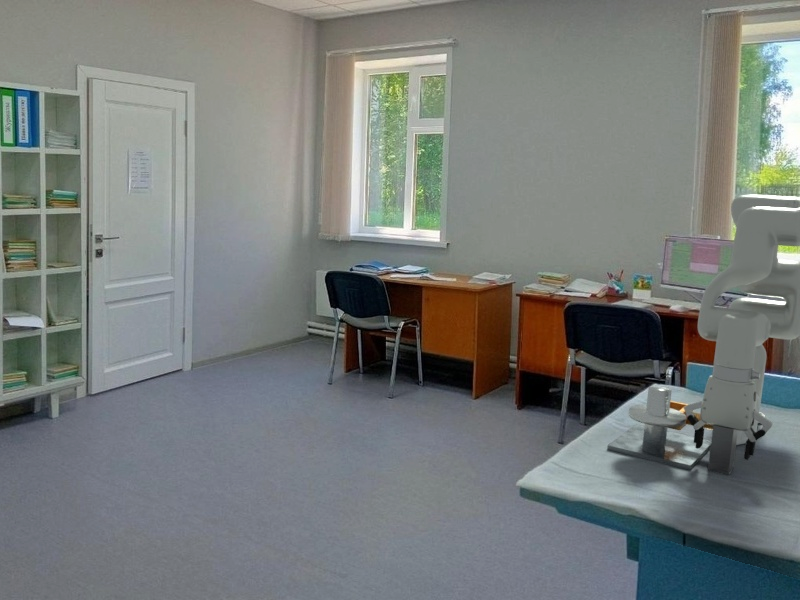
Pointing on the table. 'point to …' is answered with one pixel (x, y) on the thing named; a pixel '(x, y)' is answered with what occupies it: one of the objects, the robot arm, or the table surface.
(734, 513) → the table surface
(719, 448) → the grey rectangular block
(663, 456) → the ringlock standard
